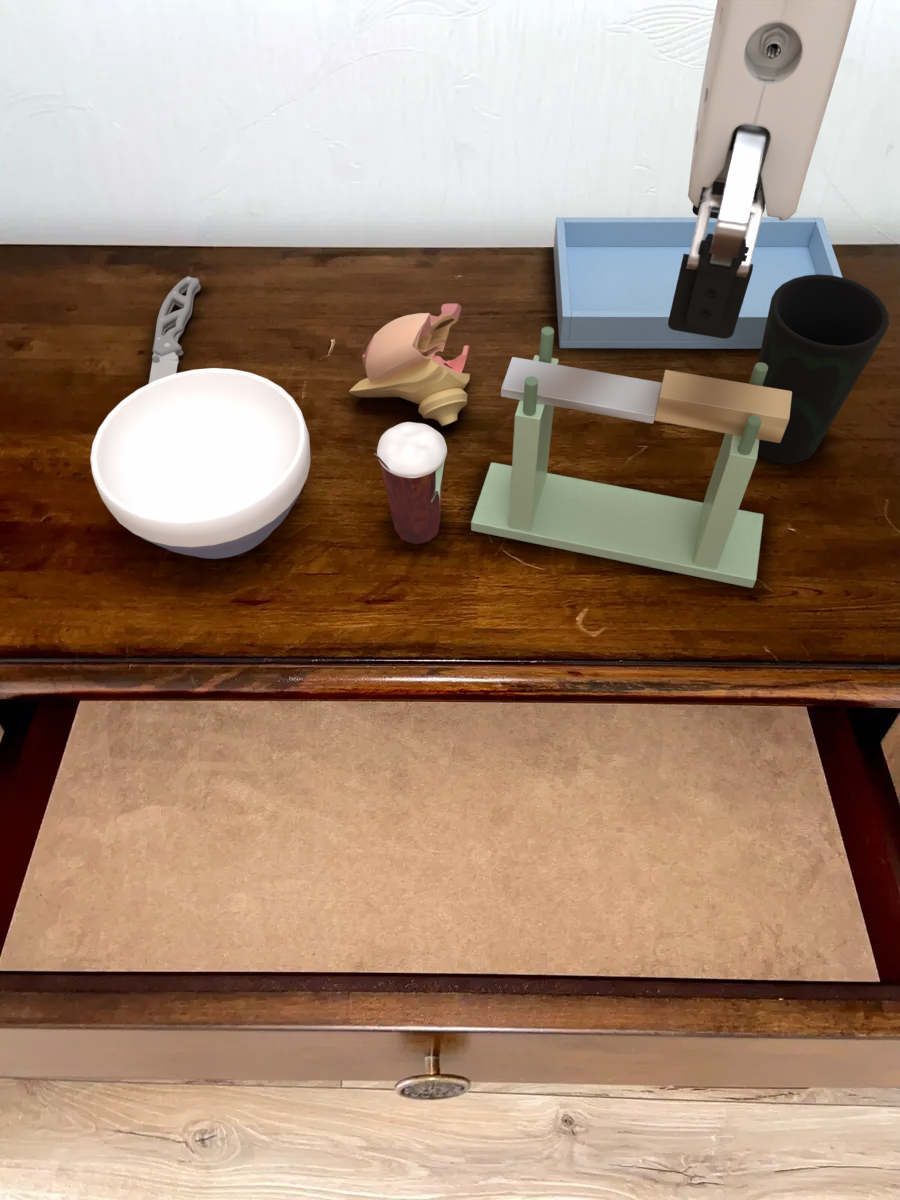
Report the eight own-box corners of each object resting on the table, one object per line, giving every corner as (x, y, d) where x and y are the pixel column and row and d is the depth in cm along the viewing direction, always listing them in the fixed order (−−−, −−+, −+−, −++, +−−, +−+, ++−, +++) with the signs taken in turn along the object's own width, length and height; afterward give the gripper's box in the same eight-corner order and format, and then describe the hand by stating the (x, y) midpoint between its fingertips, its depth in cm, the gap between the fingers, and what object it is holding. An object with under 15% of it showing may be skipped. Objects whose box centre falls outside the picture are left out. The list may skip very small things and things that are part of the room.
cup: (719, 457, 72) (760, 331, 62) (741, 392, 76) (782, 263, 66) (822, 485, 70) (881, 360, 60) (839, 416, 74) (897, 288, 64)
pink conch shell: (506, 412, 75) (463, 403, 67) (400, 455, 79) (345, 452, 71) (471, 303, 76) (423, 279, 67) (366, 351, 80) (308, 335, 71)
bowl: (263, 620, 64) (241, 552, 58) (82, 558, 67) (43, 487, 61) (354, 470, 72) (343, 396, 65) (188, 421, 75) (162, 345, 68)
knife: (178, 428, 74) (140, 430, 74) (202, 286, 84) (168, 288, 84) (173, 413, 73) (134, 415, 73) (198, 271, 83) (164, 272, 83)
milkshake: (364, 535, 68) (350, 437, 60) (416, 493, 70) (409, 392, 62) (410, 569, 66) (401, 473, 58) (461, 525, 68) (461, 426, 60)
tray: (811, 249, 86) (822, 217, 83) (842, 349, 78) (856, 317, 76) (553, 249, 86) (556, 217, 84) (559, 348, 79) (562, 316, 76)
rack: (760, 522, 68) (822, 368, 56) (752, 588, 65) (817, 439, 53) (490, 470, 71) (495, 314, 59) (470, 531, 68) (471, 378, 56)
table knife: (783, 412, 58) (792, 387, 56) (779, 447, 56) (789, 422, 54) (511, 364, 60) (512, 340, 59) (500, 396, 59) (501, 372, 57)
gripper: (916, 0, 30) (770, 396, 44) (915, -190, 40) (794, 188, 54) (681, -26, 31) (611, 368, 46) (733, -205, 41) (662, 169, 55)
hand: (710, 270), depth 50 cm, fingers open, 9 cm apart
